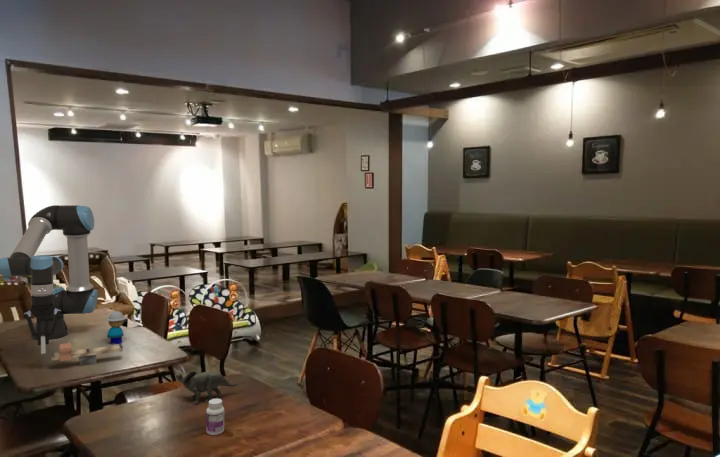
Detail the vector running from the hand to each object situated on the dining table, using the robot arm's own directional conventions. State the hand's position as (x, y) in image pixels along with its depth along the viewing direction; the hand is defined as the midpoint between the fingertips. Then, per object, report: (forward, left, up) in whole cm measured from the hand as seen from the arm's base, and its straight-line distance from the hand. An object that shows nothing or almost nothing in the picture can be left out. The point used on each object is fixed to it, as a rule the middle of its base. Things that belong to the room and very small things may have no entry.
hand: (43, 352), depth 205 cm
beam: (+8, +14, -7) cm, 17 cm away
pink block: (+4, +7, -3) cm, 8 cm away
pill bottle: (+96, -3, -7) cm, 96 cm away
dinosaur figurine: (+76, +13, -7) cm, 77 cm away
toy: (-8, +39, -7) cm, 40 cm away
